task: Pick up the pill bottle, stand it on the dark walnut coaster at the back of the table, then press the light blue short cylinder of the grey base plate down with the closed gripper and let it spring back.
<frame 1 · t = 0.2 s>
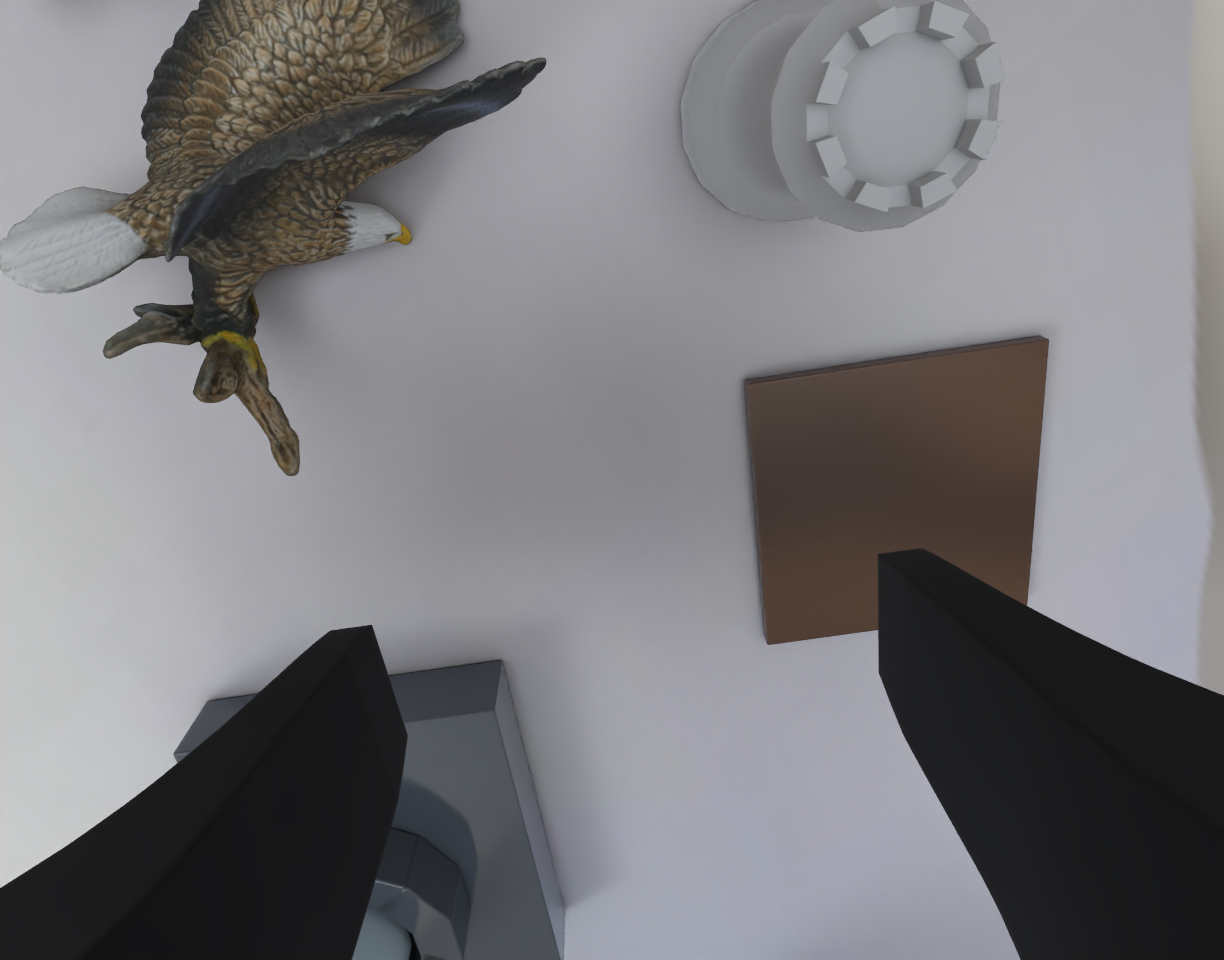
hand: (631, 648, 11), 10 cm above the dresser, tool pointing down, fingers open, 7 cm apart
coaster: (891, 498, 22), on the dresser
grey base plate: (400, 814, 26), on the dresser
rook chess piece: (775, 113, 18), on the dresser
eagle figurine: (334, 167, 18), on the dresser
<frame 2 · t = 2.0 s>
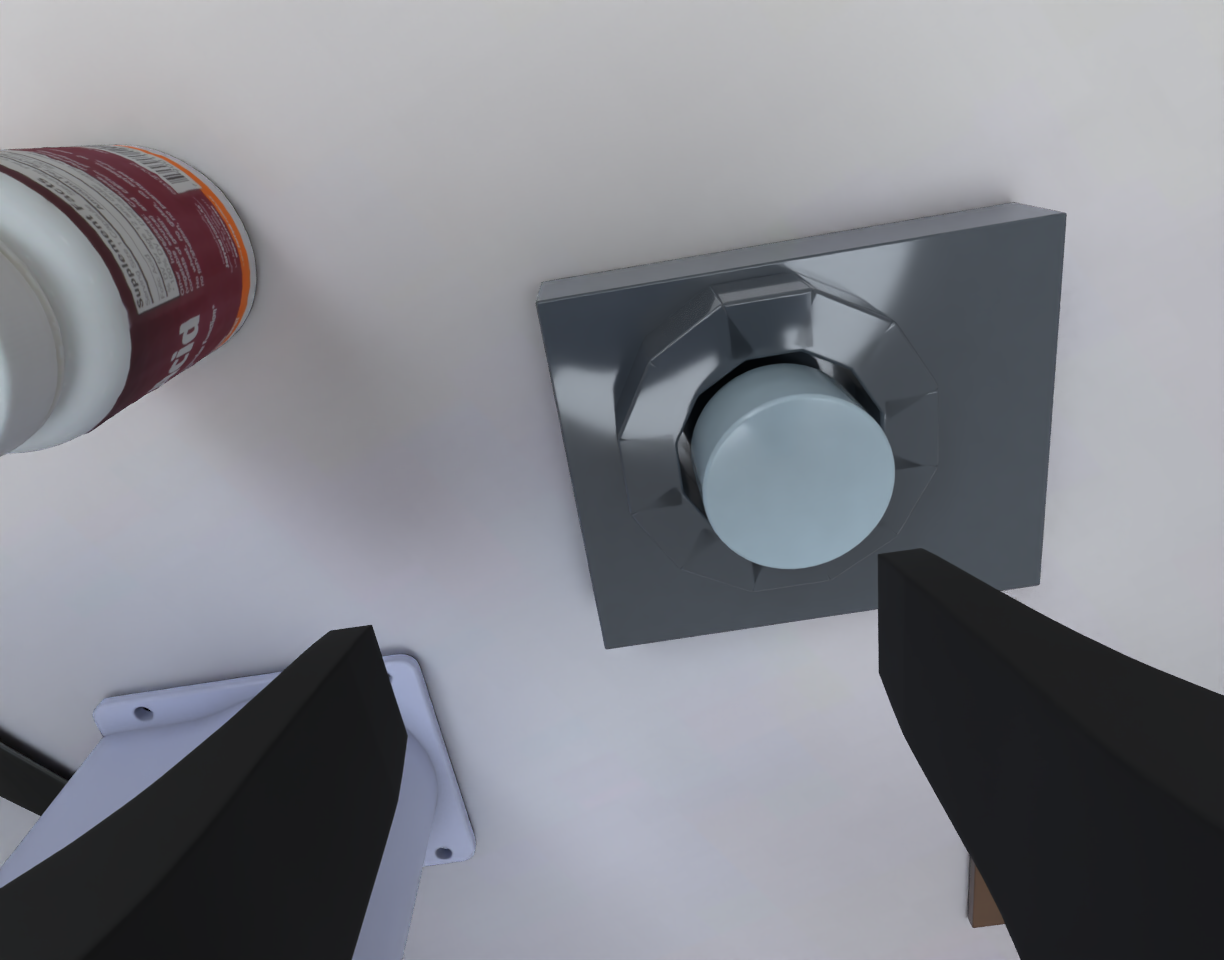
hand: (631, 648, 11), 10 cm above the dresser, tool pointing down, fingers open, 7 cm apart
coaster: (1091, 826, 27), on the dresser
grey base plate: (788, 422, 20), on the dresser
light blue short cylinder: (787, 465, 16), point 5 cm above the dresser, slide at 0.1 cm
pill bottle: (160, 254, 18), on the dresser
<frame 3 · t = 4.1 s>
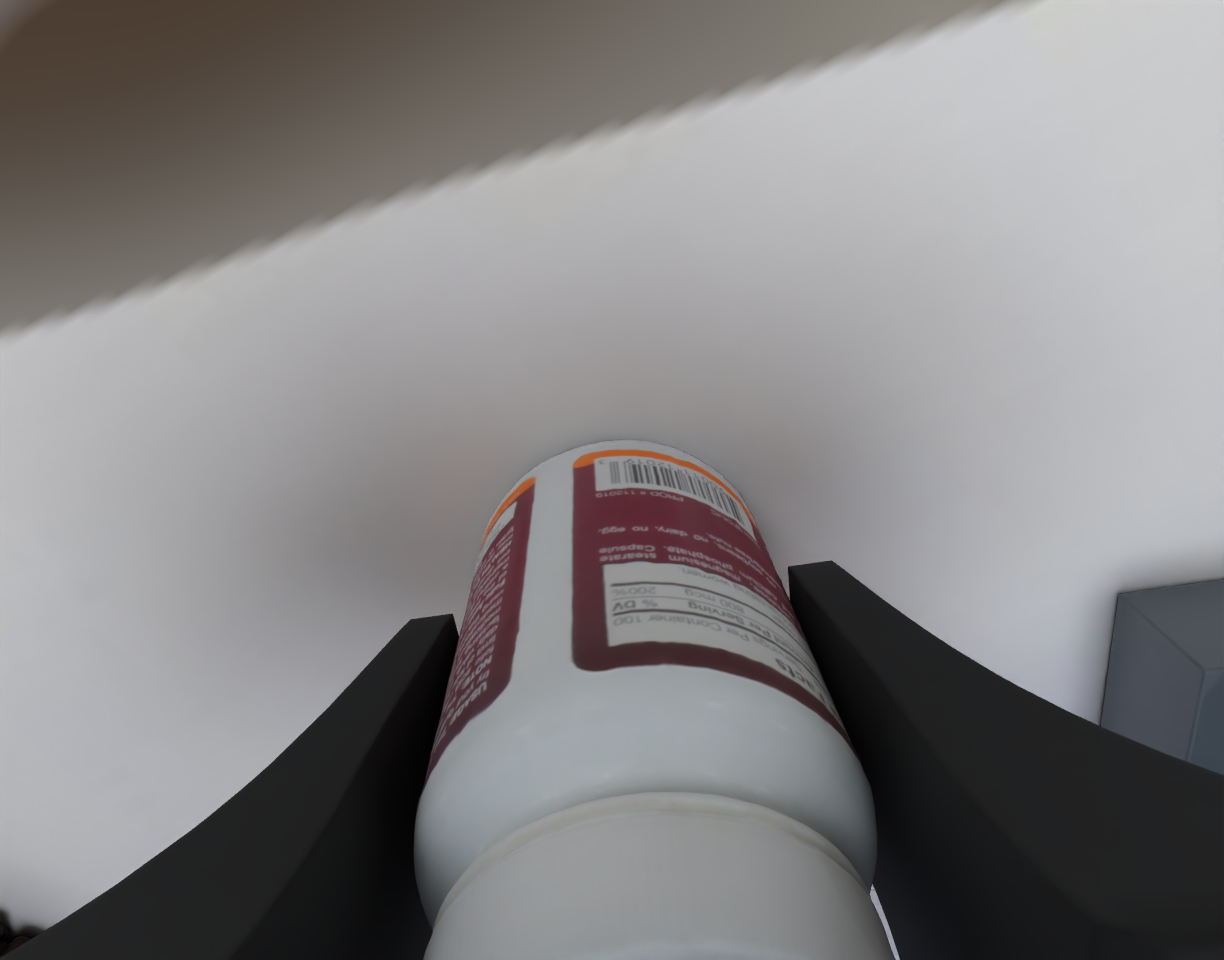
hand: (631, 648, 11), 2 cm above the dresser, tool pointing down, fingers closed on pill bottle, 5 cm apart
pill bottle: (622, 557, 14), on the dresser, touching gripper
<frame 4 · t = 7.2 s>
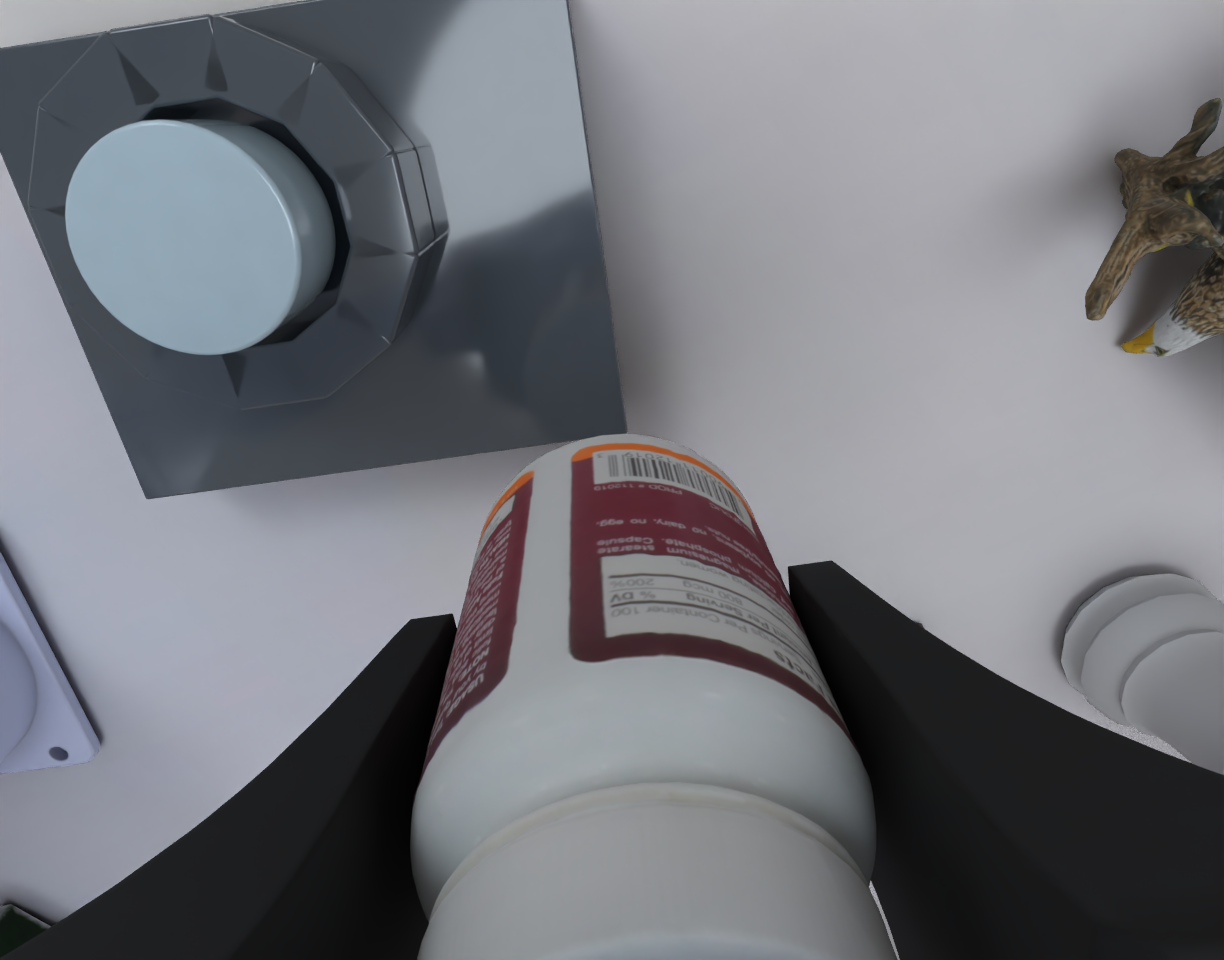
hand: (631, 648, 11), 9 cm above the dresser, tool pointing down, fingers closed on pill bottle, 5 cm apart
grey base plate: (356, 247, 18), on the dresser
light blue short cylinder: (211, 236, 14), point 5 cm above the dresser, slide at 0.1 cm
pill bottle: (621, 552, 14), point 7 cm above the dresser, touching gripper
rook chess piece: (1126, 627, 23), on the dresser
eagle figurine: (1200, 282, 19), on the dresser
when the fingers open (3 cm above the dresser, at t = 10.2 s): pill bottle stays where it is, resting on coaster.
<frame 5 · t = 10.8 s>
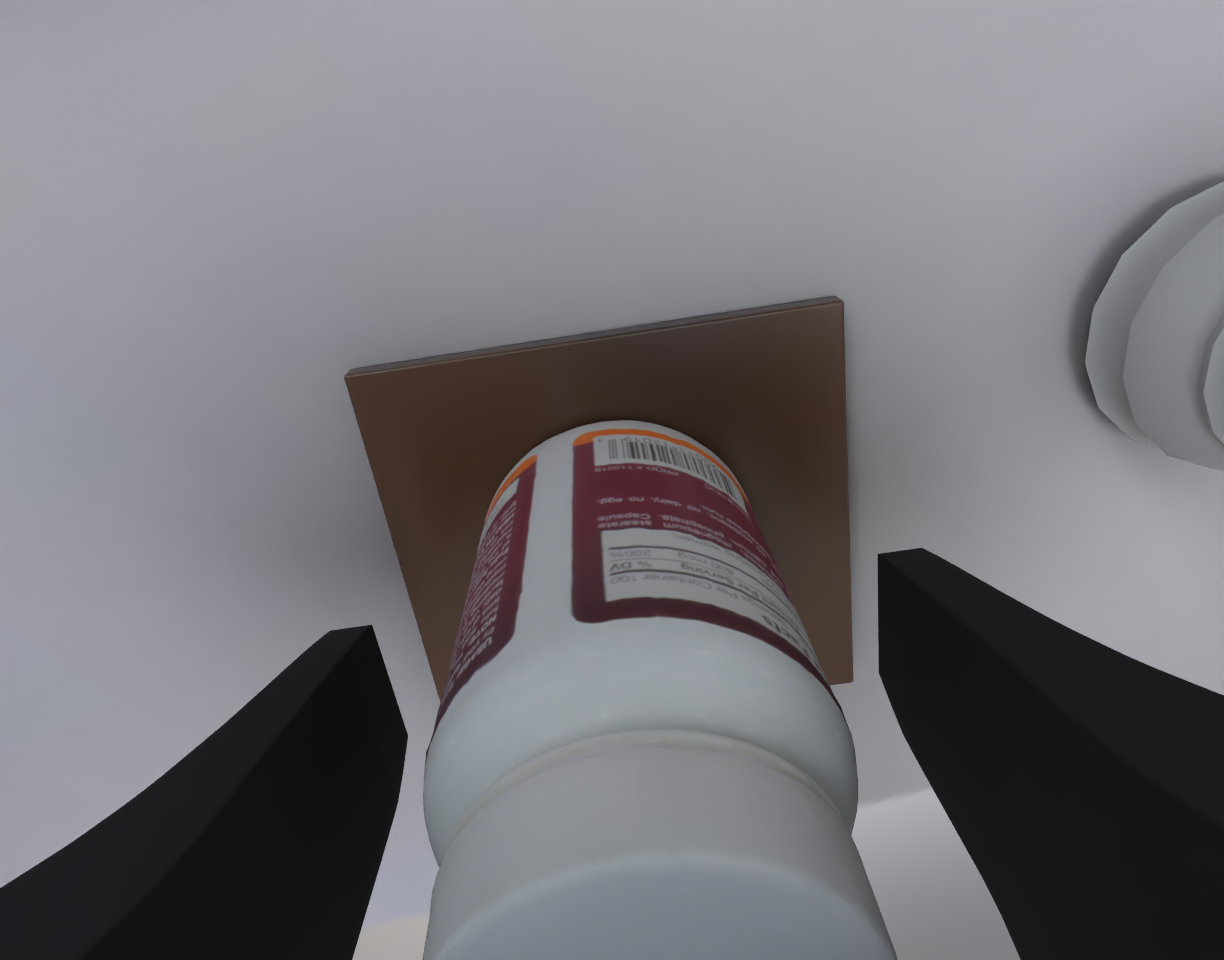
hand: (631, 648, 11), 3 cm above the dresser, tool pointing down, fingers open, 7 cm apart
coaster: (622, 534, 15), on the dresser
pill bottle: (620, 534, 14), resting on coaster
rook chess piece: (1197, 311, 13), on the dresser
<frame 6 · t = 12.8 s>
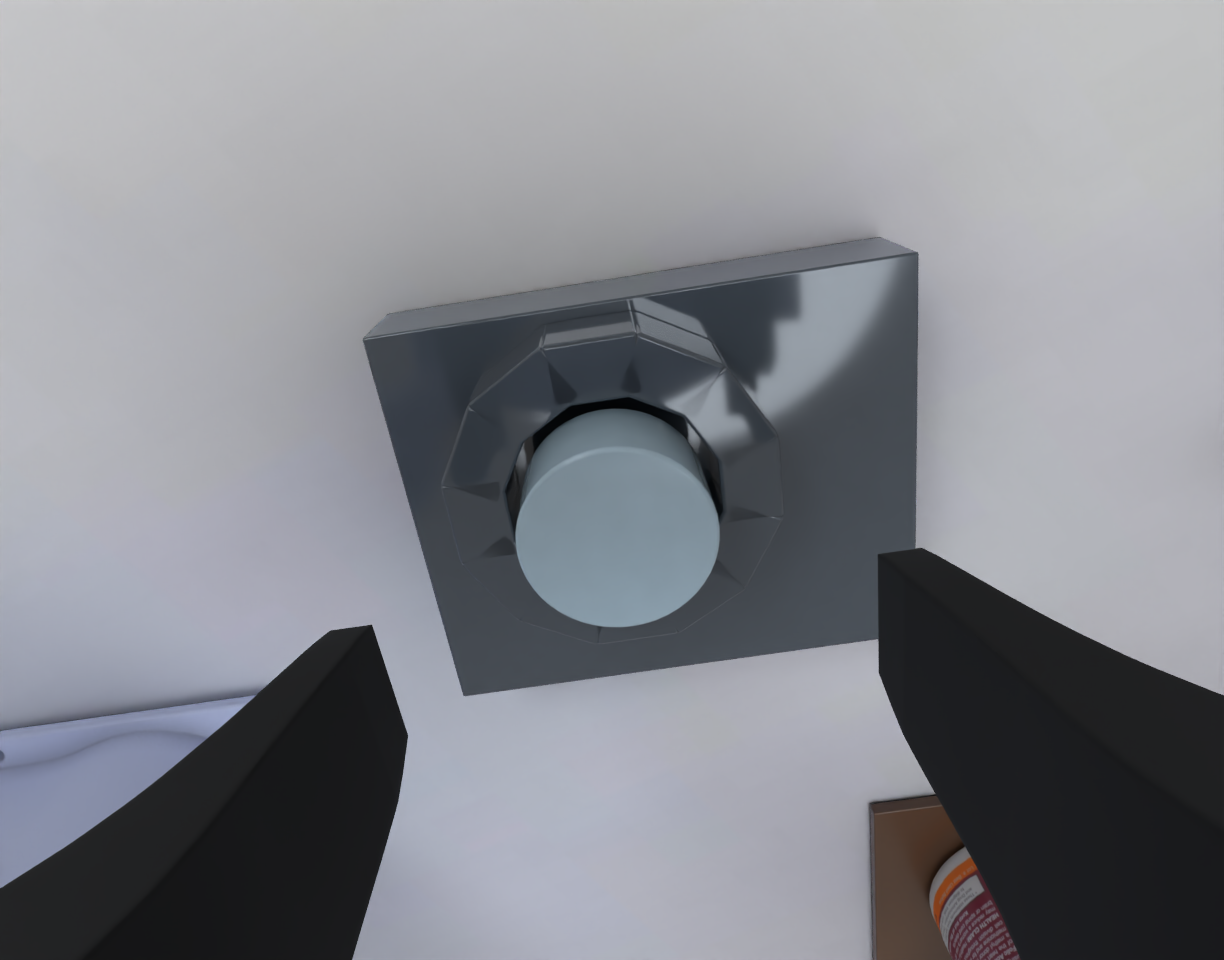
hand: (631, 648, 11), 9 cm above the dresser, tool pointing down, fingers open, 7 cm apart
coaster: (995, 872, 26), on the dresser
grey base plate: (656, 461, 19), on the dresser
light blue short cylinder: (616, 516, 15), point 5 cm above the dresser, slide at 0.1 cm
pill bottle: (997, 876, 26), resting on coaster
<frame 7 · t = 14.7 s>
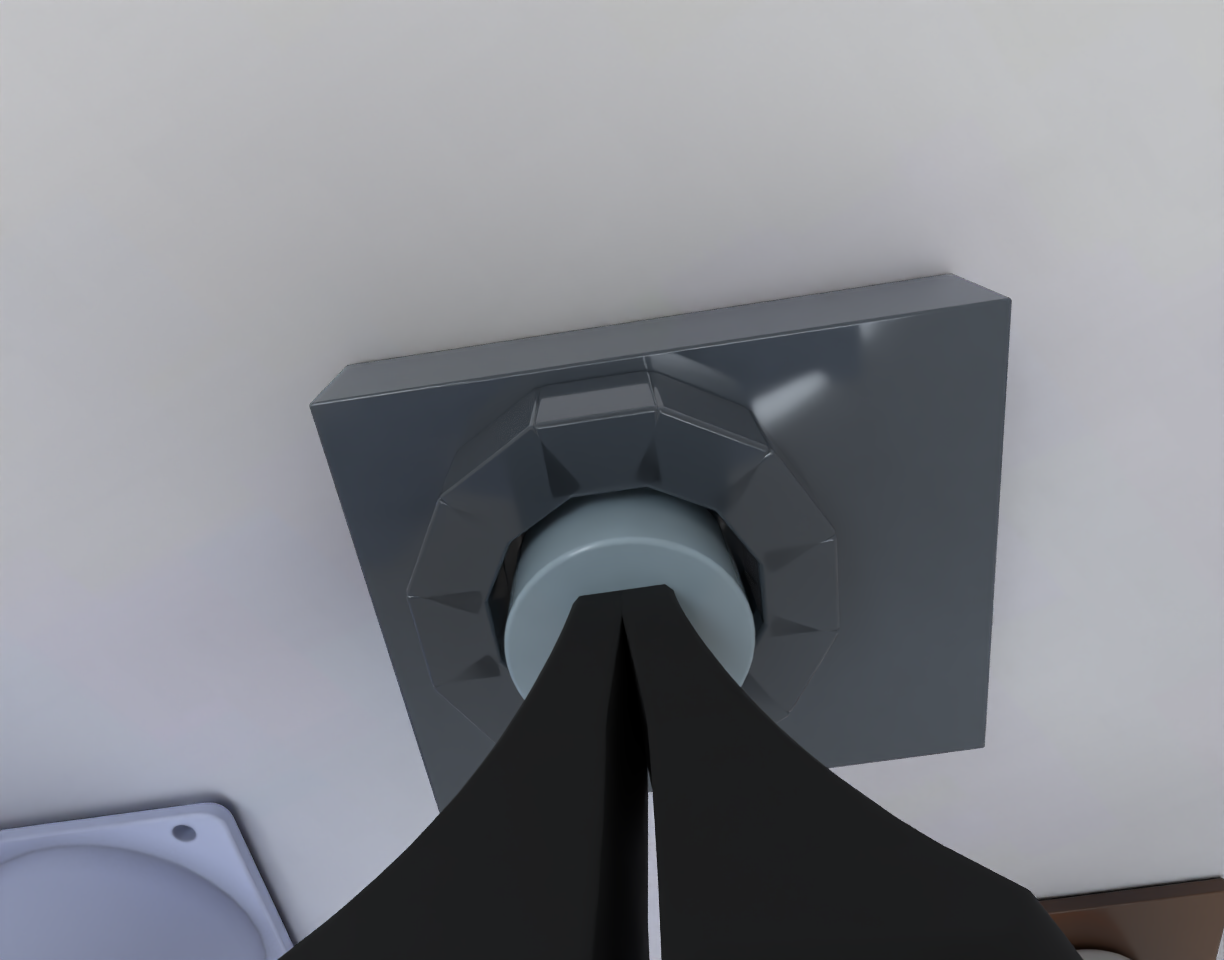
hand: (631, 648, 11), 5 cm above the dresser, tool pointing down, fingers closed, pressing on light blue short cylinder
grey base plate: (673, 537, 16), on the dresser
light blue short cylinder: (627, 610, 12), point 4 cm above the dresser, slide at -0.7 cm, touching gripper
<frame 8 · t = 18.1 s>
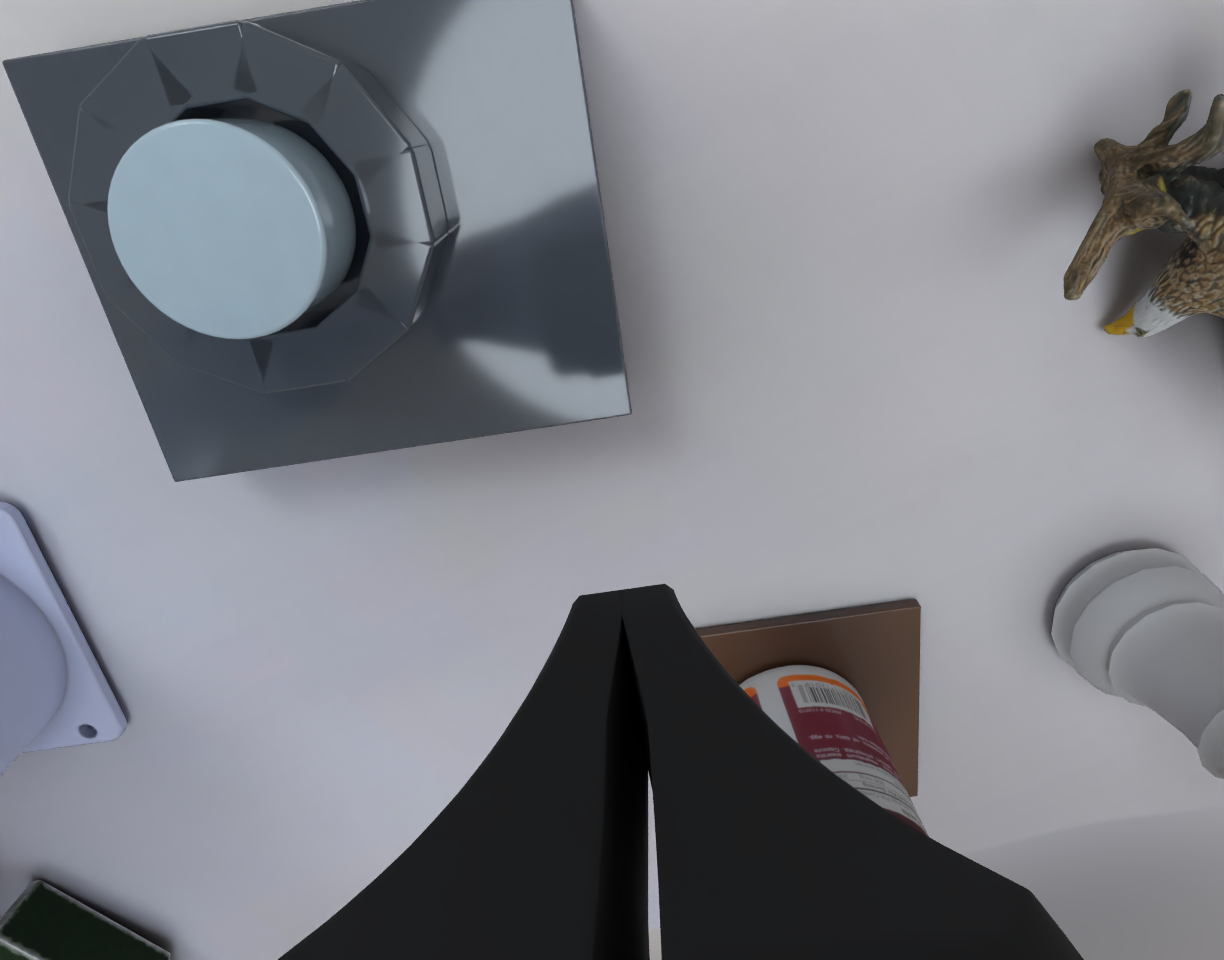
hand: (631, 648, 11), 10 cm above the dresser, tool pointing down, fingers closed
coaster: (787, 715, 25), on the dresser
grey base plate: (372, 240, 19), on the dresser
light blue short cylinder: (240, 228, 14), point 5 cm above the dresser, slide at 0.1 cm
pill bottle: (787, 717, 25), resting on coaster
rook chess piece: (1114, 601, 24), on the dresser
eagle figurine: (1178, 266, 20), on the dresser
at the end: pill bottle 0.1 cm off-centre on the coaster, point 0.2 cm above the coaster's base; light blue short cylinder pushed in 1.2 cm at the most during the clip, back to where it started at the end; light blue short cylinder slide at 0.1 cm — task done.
